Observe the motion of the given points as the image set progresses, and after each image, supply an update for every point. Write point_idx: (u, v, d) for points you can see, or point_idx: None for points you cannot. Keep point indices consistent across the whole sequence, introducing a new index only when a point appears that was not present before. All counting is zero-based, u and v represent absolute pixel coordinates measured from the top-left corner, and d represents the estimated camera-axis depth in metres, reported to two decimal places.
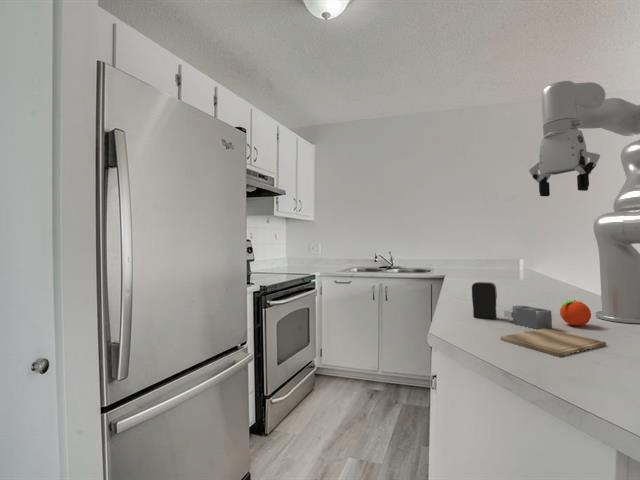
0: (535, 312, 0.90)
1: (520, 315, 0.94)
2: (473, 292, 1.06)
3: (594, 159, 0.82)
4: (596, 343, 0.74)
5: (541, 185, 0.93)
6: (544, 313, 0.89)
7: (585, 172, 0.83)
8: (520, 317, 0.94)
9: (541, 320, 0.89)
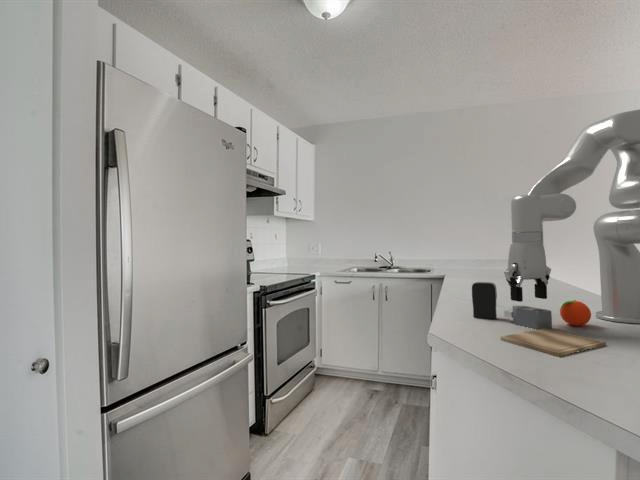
0: (535, 312, 0.90)
1: (520, 315, 0.94)
2: (473, 292, 1.06)
3: (549, 273, 0.96)
4: (596, 343, 0.74)
5: (521, 290, 0.90)
6: (544, 313, 0.89)
7: None
8: (520, 317, 0.94)
9: (541, 320, 0.89)
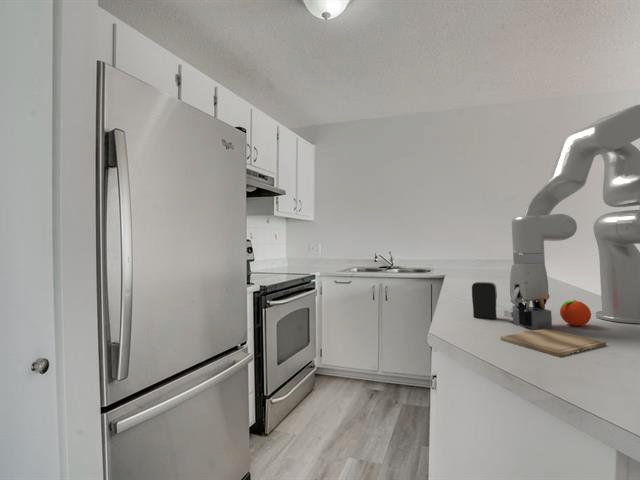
0: (535, 312, 0.90)
1: None
2: (473, 292, 1.06)
3: (547, 299, 0.95)
4: (596, 343, 0.74)
5: (530, 315, 0.91)
6: (544, 313, 0.89)
7: None
8: None
9: (541, 320, 0.89)
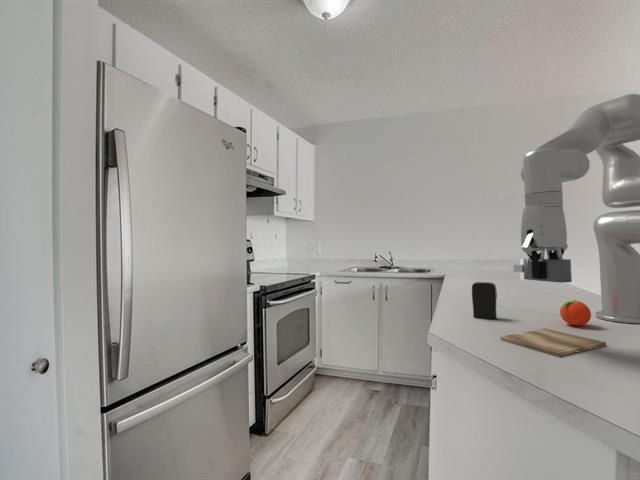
0: (551, 261, 0.76)
1: None
2: (473, 292, 1.06)
3: (564, 249, 0.81)
4: (596, 343, 0.74)
5: (545, 266, 0.77)
6: (562, 261, 0.74)
7: None
8: None
9: (559, 270, 0.75)
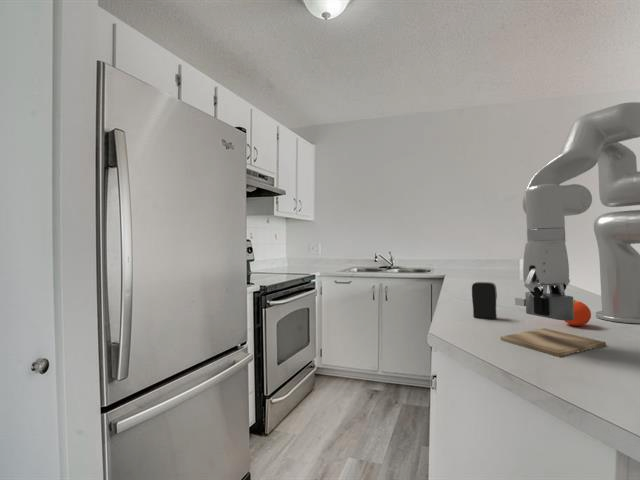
0: (554, 298, 0.75)
1: None
2: (473, 292, 1.06)
3: (567, 284, 0.80)
4: (596, 343, 0.74)
5: (548, 302, 0.76)
6: (565, 299, 0.74)
7: None
8: None
9: (562, 308, 0.74)
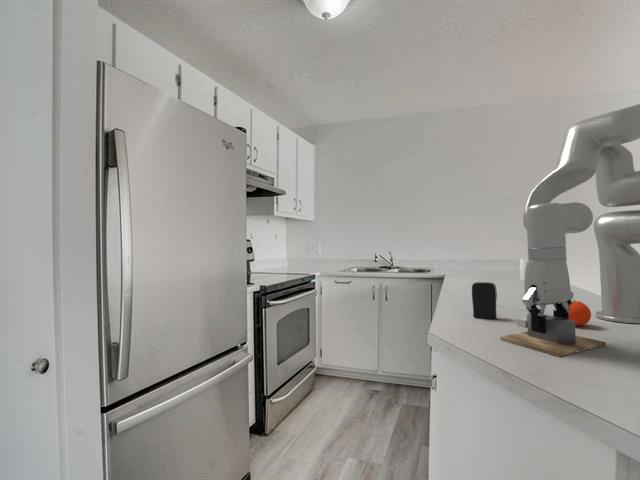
0: (555, 322, 0.75)
1: None
2: (473, 292, 1.06)
3: (571, 298, 0.81)
4: (596, 343, 0.74)
5: (545, 320, 0.76)
6: (566, 323, 0.74)
7: None
8: None
9: (563, 332, 0.74)
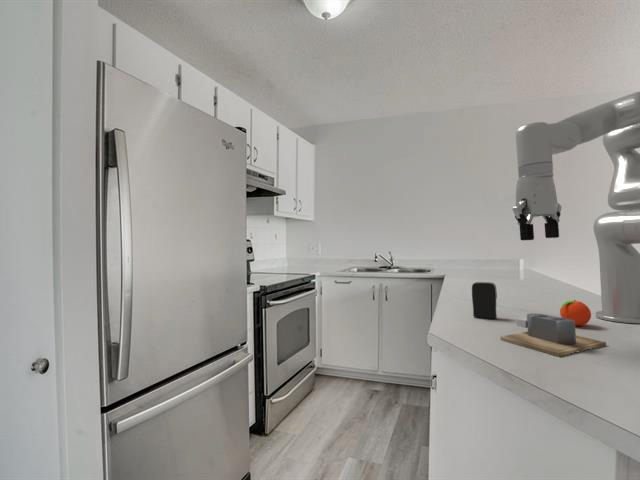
0: (555, 322, 0.75)
1: (536, 325, 0.80)
2: (473, 292, 1.06)
3: (559, 210, 0.88)
4: (596, 343, 0.74)
5: (532, 228, 0.82)
6: (566, 323, 0.74)
7: None
8: (537, 328, 0.79)
9: (563, 332, 0.74)
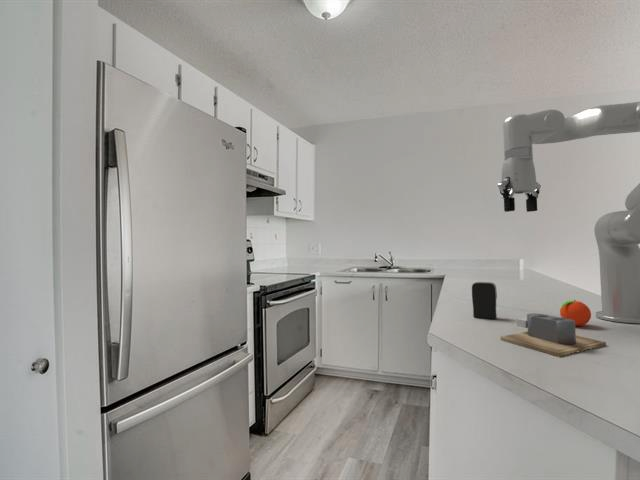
0: (555, 322, 0.75)
1: (536, 325, 0.80)
2: (473, 292, 1.06)
3: (539, 188, 1.05)
4: (596, 343, 0.74)
5: (514, 201, 1.00)
6: (566, 323, 0.74)
7: None
8: (537, 328, 0.79)
9: (563, 332, 0.74)
